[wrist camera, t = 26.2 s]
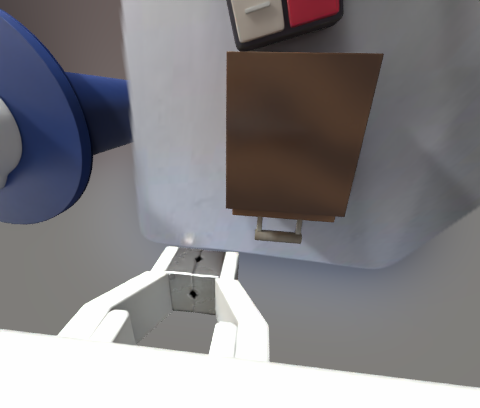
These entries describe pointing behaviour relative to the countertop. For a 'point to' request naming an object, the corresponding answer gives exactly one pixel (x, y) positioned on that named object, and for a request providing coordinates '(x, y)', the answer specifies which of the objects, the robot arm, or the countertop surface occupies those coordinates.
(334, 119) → the cabinet
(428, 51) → the countertop surface
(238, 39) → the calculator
